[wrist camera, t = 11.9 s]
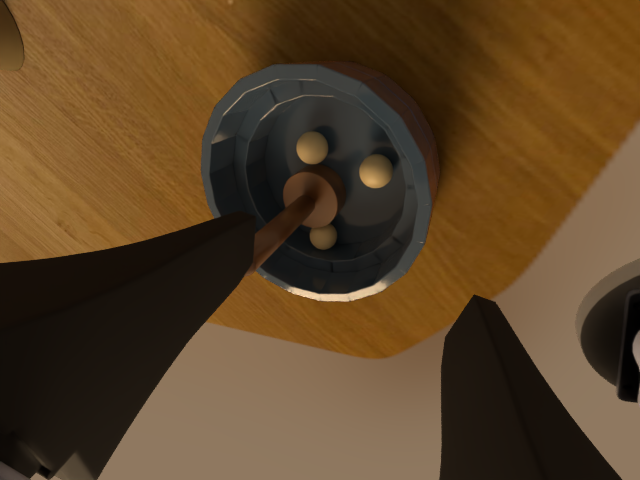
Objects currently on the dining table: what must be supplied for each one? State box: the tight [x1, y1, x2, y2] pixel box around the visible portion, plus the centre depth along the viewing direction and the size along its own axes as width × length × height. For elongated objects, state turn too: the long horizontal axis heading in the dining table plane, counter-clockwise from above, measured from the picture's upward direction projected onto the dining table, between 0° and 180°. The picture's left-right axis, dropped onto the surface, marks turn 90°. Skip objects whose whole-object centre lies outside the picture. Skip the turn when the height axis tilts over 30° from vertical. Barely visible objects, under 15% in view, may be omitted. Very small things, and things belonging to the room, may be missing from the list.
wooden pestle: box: [245, 164, 346, 276], centre depth 16 cm, size 4×4×9 cm
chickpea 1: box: [297, 131, 328, 164], centre depth 18 cm, size 2×2×2 cm
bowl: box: [201, 61, 440, 301], centre depth 17 cm, size 12×12×5 cm
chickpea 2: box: [310, 223, 337, 250], centre depth 20 cm, size 2×2×2 cm
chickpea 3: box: [359, 154, 393, 188], centre depth 17 cm, size 2×2×2 cm
